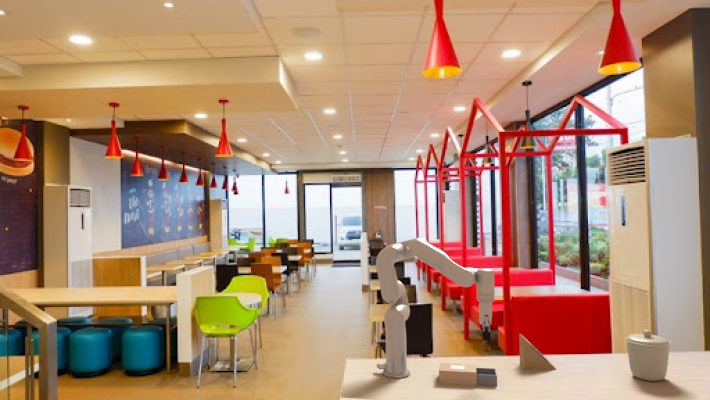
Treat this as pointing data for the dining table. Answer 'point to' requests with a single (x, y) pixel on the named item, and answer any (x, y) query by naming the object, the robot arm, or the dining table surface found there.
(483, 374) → the tray
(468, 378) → the mailer sleeve
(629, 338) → the canister
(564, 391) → the dining table surface
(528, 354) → the sandwich container
